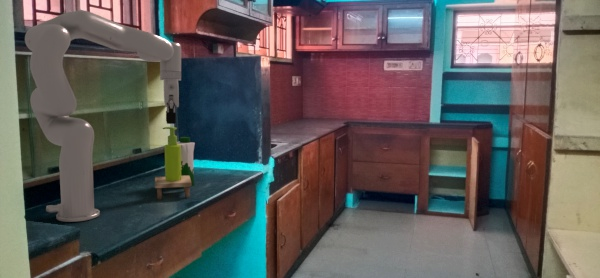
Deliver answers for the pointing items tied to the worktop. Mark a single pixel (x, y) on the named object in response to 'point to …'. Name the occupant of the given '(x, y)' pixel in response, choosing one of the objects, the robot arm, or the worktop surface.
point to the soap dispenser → (172, 157)
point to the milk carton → (187, 158)
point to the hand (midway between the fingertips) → (170, 122)
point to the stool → (173, 185)
